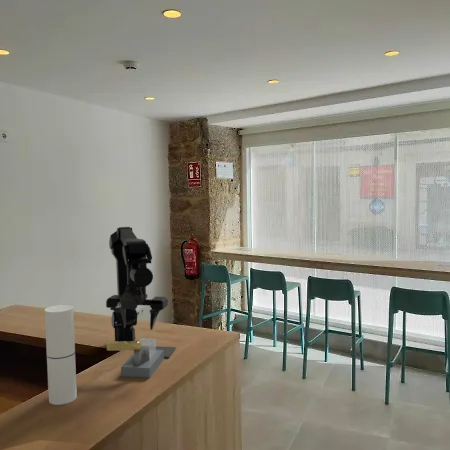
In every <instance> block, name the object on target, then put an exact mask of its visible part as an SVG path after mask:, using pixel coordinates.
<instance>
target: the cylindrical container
mask: <svg viewBox="0 0 450 450" xmlns="http://www.w3.org/2000/svg"><path fill="white" fill-rule="evenodd" d="M74 316H75V315H74V306H73V305H71V304H70V305H69V304H59V305H52V306H47V307H46V308H45V309H44V321H45V322H44V324H45V343H46V344H45V345H46V365H47V367H46V368H47V370H46V371H47V388H48V402H49V404H51V405H54V406H58V405H59V406H61V405H66V404H67V405H68V404H70V403H71V402H73V401H75V400H76V399H77V396H78V395H77V393H78V392H77V372H76V371H77V368H76V347H75V346H76V344H75V343H76V341H75V321H74V318H75V317H74Z"/></svg>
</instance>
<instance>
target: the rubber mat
mask: <svg viewBox="0 0 450 450" xmlns="http://www.w3.org/2000/svg"><path fill="white" fill-rule="evenodd" d="M156 350H164V359H170V357H171V356H172V354H173V353H174V352H175V351H176V346H161V345H159V346H158V345H156Z"/></svg>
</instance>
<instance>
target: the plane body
mask: <svg viewBox="0 0 450 450" xmlns="http://www.w3.org/2000/svg"><path fill="white" fill-rule="evenodd" d="M164 359H165V358H164V350H156V353H155V354H154V355H153V357H152V358H151V359H150V360H141V352H140V350H139V351H134V350H133V354H132V355H131V356H130V357H129V358H128V359H127V360H125V362H124V363H123V364H122V365H121V366H120V370H121V371H120V374H121V375H120V377H128V378H145V379H150V378H151V377H152V376H153V375H154V374H155V372H156V371H157V370H158V368H159V367H160V366H161V364H162V362H163V361H164Z"/></svg>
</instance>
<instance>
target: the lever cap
mask: <svg viewBox="0 0 450 450" xmlns="http://www.w3.org/2000/svg"><path fill="white" fill-rule="evenodd" d="M138 341H141V350H140V352H141V360H150V359H151V358H152V357H153V355H154V354H155V353H156V346H157V338H151V337H149V338H147V337H144V338H143V337H142V338H141V337H140V339H139V340H138Z"/></svg>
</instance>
